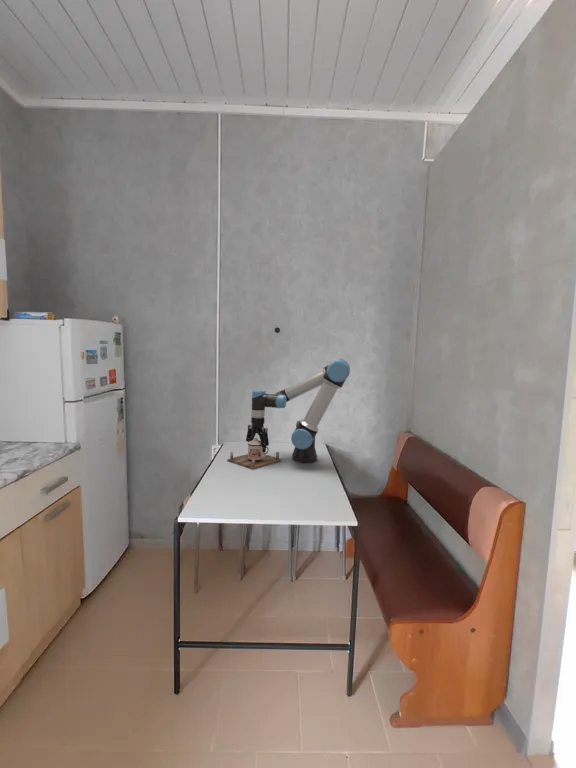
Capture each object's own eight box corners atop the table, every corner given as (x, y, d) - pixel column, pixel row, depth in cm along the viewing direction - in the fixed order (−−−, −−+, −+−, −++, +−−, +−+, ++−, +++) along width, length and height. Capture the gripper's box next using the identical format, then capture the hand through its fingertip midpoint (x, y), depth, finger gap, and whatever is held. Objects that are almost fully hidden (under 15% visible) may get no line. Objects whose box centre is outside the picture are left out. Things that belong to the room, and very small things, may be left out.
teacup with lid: (246, 460, 218) (247, 439, 217) (248, 455, 227) (248, 436, 226) (267, 461, 218) (268, 440, 217) (268, 456, 227) (269, 436, 226)
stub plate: (281, 461, 227) (281, 452, 226) (253, 469, 209) (253, 460, 209) (256, 453, 240) (256, 445, 240) (227, 461, 223) (227, 452, 222)
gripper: (276, 418, 217) (275, 458, 219) (249, 413, 231) (248, 450, 233) (267, 420, 212) (265, 461, 214) (240, 414, 226) (239, 453, 228)
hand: (256, 455), depth 224 cm, fingers closed on teacup with lid, 9 cm apart
